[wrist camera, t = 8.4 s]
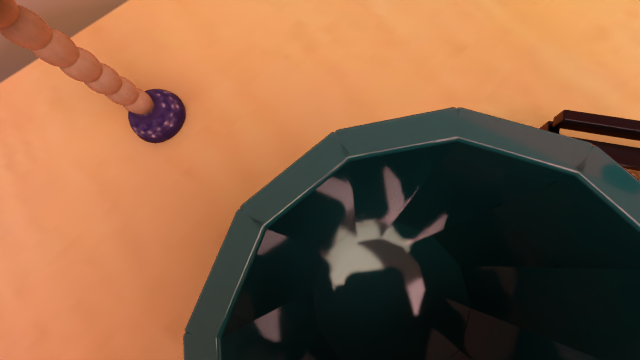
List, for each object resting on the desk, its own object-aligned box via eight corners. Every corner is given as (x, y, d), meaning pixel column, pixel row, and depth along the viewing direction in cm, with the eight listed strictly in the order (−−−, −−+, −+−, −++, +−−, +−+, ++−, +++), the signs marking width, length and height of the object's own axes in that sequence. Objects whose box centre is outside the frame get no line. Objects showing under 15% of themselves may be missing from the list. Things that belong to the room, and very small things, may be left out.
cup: (515, 311, 12) (977, 455, 3) (381, 433, 11) (455, 1025, 2) (394, 181, 13) (457, 28, 5) (273, 282, 13) (96, 320, 4)
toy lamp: (164, 157, 24) (-228, -50, 8) (116, 135, 25) (-316, -89, 9) (195, 103, 25) (-102, -183, 9) (148, 84, 26) (-196, -206, 10)
